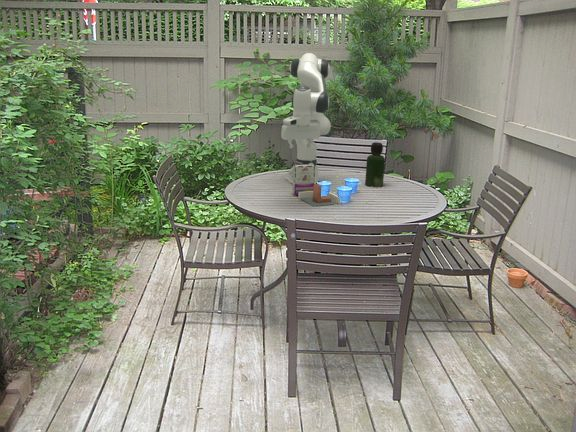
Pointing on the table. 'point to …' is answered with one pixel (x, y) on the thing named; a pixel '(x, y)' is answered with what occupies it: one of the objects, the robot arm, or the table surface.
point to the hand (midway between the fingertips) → (300, 147)
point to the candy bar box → (303, 178)
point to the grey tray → (310, 194)
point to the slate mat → (311, 202)
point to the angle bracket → (319, 195)
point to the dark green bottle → (375, 166)
